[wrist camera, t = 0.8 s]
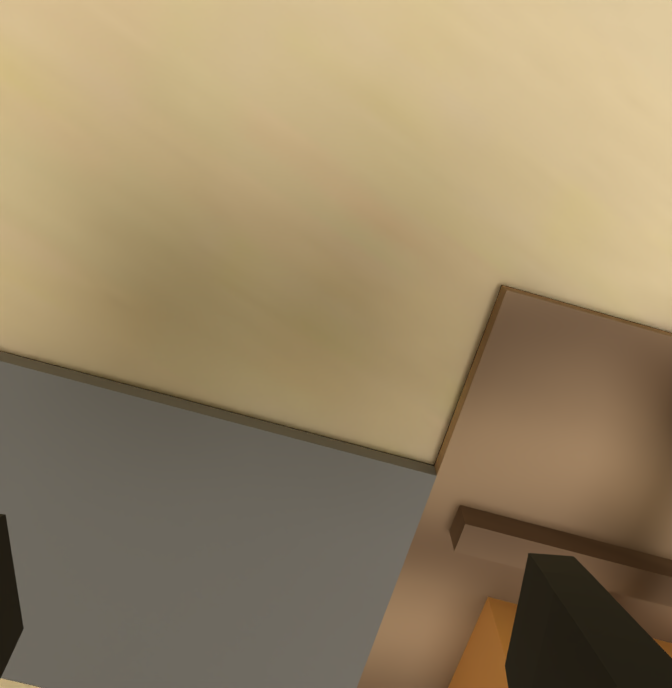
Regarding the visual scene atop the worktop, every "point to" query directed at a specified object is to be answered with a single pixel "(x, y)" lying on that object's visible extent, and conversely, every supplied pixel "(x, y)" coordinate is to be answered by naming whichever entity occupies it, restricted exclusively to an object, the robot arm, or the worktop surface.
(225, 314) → the worktop surface
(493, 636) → the orange block
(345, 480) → the mat
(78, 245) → the worktop surface
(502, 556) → the brown slotted base
